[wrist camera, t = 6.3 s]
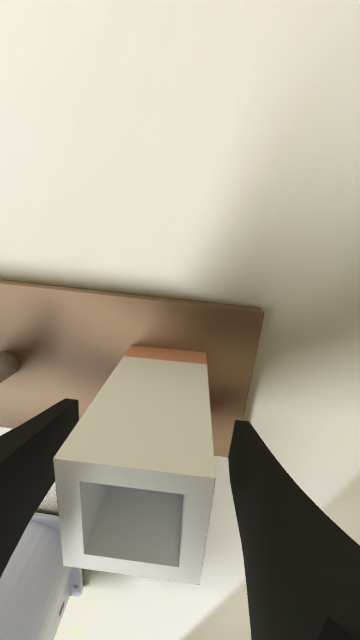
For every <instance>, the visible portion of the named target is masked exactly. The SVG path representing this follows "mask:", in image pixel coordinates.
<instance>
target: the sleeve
mask: <svg viewBox="0 0 360 640" xmlns="http://www.w3.org/2000/svg"><path fill="white" fill-rule="evenodd" d="M53 463H54V473H55V483H56V493H57V503H58V514H59V524H60V534H61V544H62V554H63V564H64V566H69V567H76V568H83V569H90V570H97V571H104V572H111V573H118V574H125V575H132V576H139V577H146V578H153V579H160V580H167V581H174V582H181V583H188V584H195V585H199V584H200V578H201V571H202V565H203V558H204V551H205V545H206V538H207V532H208V525H209V518H210V512H211V505H212V499H213V492H214V485H215V479H216V477H215V464H214V451H213V437H212V424H211V411H210V398H209V385H208V372H207V359H206V352H196V351H185V350H175V349H165V348H155V347H144V346H134V345H131V346H130V347H129V349H128V350H127V352H126V353H125V355H124V356H123V357H122V359H121V360H120V362H119V363H118V365H117V366H116V368H115V369H114V371H113V372H112V373H111V375H110V376H109V378H108V379H107V381H106V382H105V384H104V385H103V387H102V388H101V389H100V391H99V392H98V394H97V395H96V397H95V398H94V400H93V401H92V403H91V404H90V405H89V407H88V408H87V410H86V411H85V413H84V414H83V416H82V417H81V419H80V420H79V421H78V423H77V424H76V426H75V427H74V429H73V430H72V432H71V433H70V435H69V436H68V437H67V439H66V440H65V442H64V443H63V445H62V446H61V448H60V449H59V451H58V452H57V453H56V455H55V456H54V458H53Z"/></svg>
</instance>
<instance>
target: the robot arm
mask: <svg viewBox="0 0 360 640" xmlns="http://www.w3.org/2000/svg"><path fill="white" fill-rule="evenodd" d="M78 421H79V402H78V400H76V399H68V398H65V399H63V400H61V401H60V402H58V403H56V404H55V405H53V406H51V407H50V408H48V409H46V410H45V411H43V412H41V413H40V414H38V415H36V416H35V417H33V418H31V419H30V420H28V421H26V422H25V423H23V424H21V425H19V426H18V427H16V428H14V429H12V430H10V431H9V432H7V433H5V434H3V435H1V436H0V640H53V639H54V637H55V634H56V631H57V629H58V626H59V623H60V620H61V618H62V615H63V612H64V610H65V607H66V604H67V601H68V599H69V596H70V595H71V596H80V595H81V593H82V590H83V578H82V568H76V567H69V566H64V564H63V554H62V544H61V534H60V524H59V516H56V515H50V514H43V513H36V510H37V509H38V507H39V505H40V504H41V502H42V501H43V499H44V497H45V496H46V494H47V493H48V491H49V490H50V488H51V486H52V485H53V483H54V482H55V473H54V463H53V458H54V456H55V455H56V453H57V452H58V451H59V449H60V448H61V446H62V445H63V443H64V442H65V440H66V439H67V437H68V436H69V435H70V433H71V432H72V430H73V429H74V427H75V426H76V424H77V423H78ZM228 460H229V474H230V483H231V489H232V494H233V500H234V505H235V510H236V516H237V521H238V527H239V532H240V537H241V543H242V550H243V556H244V566H245V575H246V585H247V595H248V604H249V616H250V625H251V638H252V640H360V546H359V545H358V544H357V543H356V542H355V541H354V540H353V539H351V538H350V537H349V536H348V535H347V534H346V533H345V532H344V531H343V530H341V528H340V527H338V526H337V525H336V524H335V523H334V522H333V521H332V520H331V519H330V518H329V517H328V516H327V515H326V514H325V513H324V512H323V511H322V510H321V509H320V508H319V507H318V506H317V505H316V504H315V503H314V502H313V501H312V500H311V499H310V498H309V497H308V496H307V495H306V494H305V493H304V492H303V491H302V489H301V488H300V487H299V486H298V485H297V484H296V483H295V482H294V480H293V479H292V478H291V477H290V476H289V474H288V473H287V472H286V471H285V470H284V468H283V467H282V466H281V465H280V463H279V462H278V461H277V459H276V458H275V457H274V456H273V454H272V453H271V452H270V450H269V449H268V448H267V446H266V445H265V443H264V442H263V441H262V439H261V438H260V436H259V435H258V434H257V432H256V431H255V429H254V428H253V426H252V425H251V424H250V422H249V421H241V420H235V423H234V429H233V434H232V439H231V444H230V449H229V455H228Z"/></svg>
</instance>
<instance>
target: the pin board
mask: <svg viewBox="0 0 360 640" xmlns="http://www.w3.org/2000/svg"><path fill="white" fill-rule="evenodd" d="M263 316H264V312H263V311H262V310H261V309H260V308H256V307H246V306H237V305H228V304H219V303H209V302H200V301H191V300H182V299H172V298H163V297H154V296H145V295H135V294H126V293H117V292H108V291H98V290H89V289H80V288H71V287H61V286H52V285H43V284H34V283H24V282H15V281H6V280H0V427H6V428H13V429H14V428H16V427H18V426H19V425H21V424H23V423H25V422H26V421H28V420H30V419H31V418H33V417H35V416H36V415H38V414H40V413H41V412H43V411H45V410H46V409H48V408H50V407H51V406H53V405H55V404H56V403H58V402H60V401H61V400H63V399H65V398H68V399H76V400H78V402H79V420H80V419H81V417H82V416H83V414H84V413H85V411H86V410H87V408H88V407H89V405H90V404H91V403H92V401H93V400H94V398H95V397H96V395H97V394H98V392H99V391H100V389H101V388H102V387H103V385H104V384H105V382H106V381H107V379H108V378H109V376H110V375H111V373H112V372H113V371H114V369H115V368H116V366H117V365H118V363H119V362H120V360H121V359H122V357H123V356H124V355H125V353H126V352H127V350H128V349H129V347H130V346H131V345H134V346H144V347H155V348H165V349H175V350H185V351H196V352H206V359H207V372H208V385H209V398H210V411H211V424H212V437H213V451H214V455H215V456H223V457H228V455H229V449H230V444H231V439H232V434H233V429H234V423H235V420H241V421H242V420H243V415H244V410H245V405H246V400H247V395H248V390H249V385H250V380H251V375H252V371H253V366H254V361H255V356H256V351H257V346H258V341H259V336H260V331H261V326H262V321H263Z"/></svg>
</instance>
